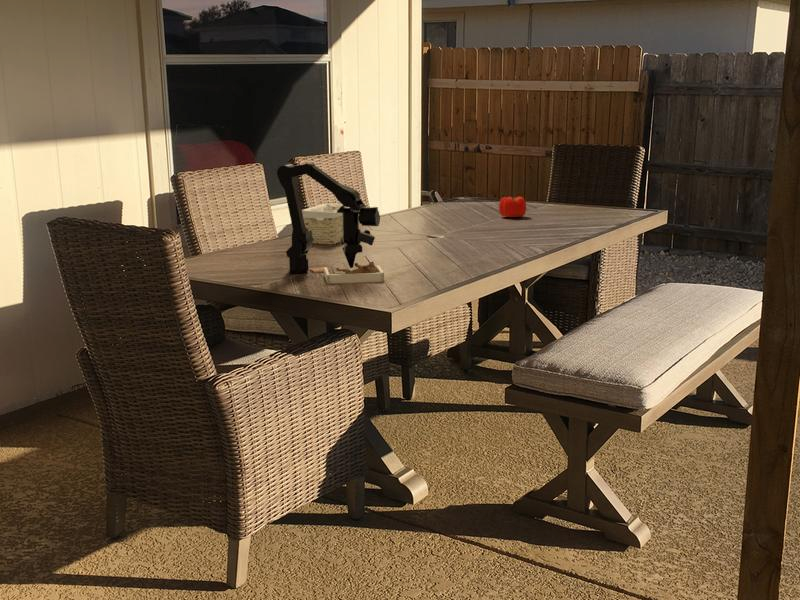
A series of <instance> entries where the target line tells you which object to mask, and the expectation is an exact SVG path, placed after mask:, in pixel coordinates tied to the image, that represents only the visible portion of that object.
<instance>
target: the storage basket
mask: <svg viewBox="0 0 800 600" xmlns="http://www.w3.org/2000/svg"><path fill="white" fill-rule="evenodd" d="M341 206H343V205H342V204H341V203H332V202H331V203H326V202H325V203H322V204H317V205H314V206H312V207H308V208H304V209H302V214H303V218H304V223H305V227H306V228H307V230H308V231H309V230H312V237H313V239H314V241H313V244H317V243H318V244H317V245H319V244H320V245H337V244H339V243H340V239H341V238H342V237H343V230H342V227H343V213H337V210H339V209H340V207H341ZM344 207H345V206H344ZM346 208H350V207H346ZM334 210H335V211H334ZM336 243H337V244H336Z"/></svg>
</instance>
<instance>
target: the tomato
mask: <svg viewBox="0 0 800 600" xmlns="http://www.w3.org/2000/svg"><path fill="white" fill-rule="evenodd" d="M526 202H527V201H526V199H525V198H524V197H522V196H517V197H512V196H508V197H506V196H503V197H502V198H501V199H500V200H499V205H498V211H499V214H500V215H501V216H502V217H503V216H506V217H505V218H507V217H520V218H522V217H524V216H525V215H526V212H527V203H526Z"/></svg>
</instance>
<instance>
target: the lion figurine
mask: <svg viewBox="0 0 800 600" xmlns="http://www.w3.org/2000/svg"><path fill="white" fill-rule="evenodd" d="M354 267H355V269H352V270H350V269H346V268H343V269H341V268H339V267H336V268H335V270H336V272H338V273H337V274H341V273H340V272H343V273H342V274H357V273H376V272H377V270H378V268H377V267H376V265H375V262H374V261H371V262H368V264H366V265H365V264H364V265H361V264H359V263H358V262H354Z"/></svg>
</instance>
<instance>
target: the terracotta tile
mask: <svg viewBox="0 0 800 600" xmlns="http://www.w3.org/2000/svg"><path fill="white" fill-rule="evenodd" d="M324 267H325V266H320V267H308V270H309V271H310V270H311V271H310V272H312V271H313V272H312V273H314V274H317V272H318V274H319V272H321V273H324ZM327 269H328V272H329V273H330V272H331V270H330V268H327Z"/></svg>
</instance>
